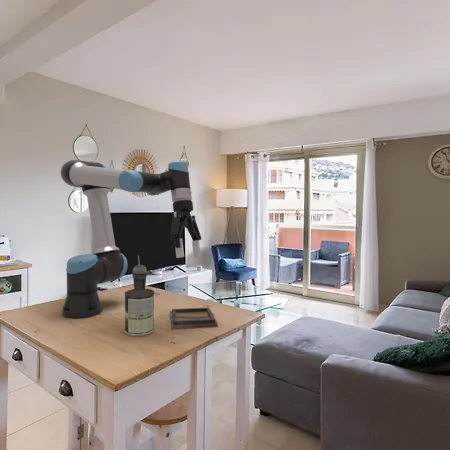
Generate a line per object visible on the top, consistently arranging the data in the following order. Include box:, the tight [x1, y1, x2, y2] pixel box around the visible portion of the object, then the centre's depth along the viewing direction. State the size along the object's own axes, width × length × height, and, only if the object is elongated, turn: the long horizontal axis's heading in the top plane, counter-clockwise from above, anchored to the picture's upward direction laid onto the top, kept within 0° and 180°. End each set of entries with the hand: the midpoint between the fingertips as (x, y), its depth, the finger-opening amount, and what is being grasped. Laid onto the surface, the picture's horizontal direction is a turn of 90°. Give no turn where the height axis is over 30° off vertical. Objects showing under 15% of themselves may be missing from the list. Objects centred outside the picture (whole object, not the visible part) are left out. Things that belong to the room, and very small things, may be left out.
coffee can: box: [124, 288, 155, 337], centre depth 121 cm, size 10×10×14 cm
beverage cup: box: [131, 255, 148, 289], centre depth 165 cm, size 7×7×20 cm
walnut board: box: [169, 307, 219, 330], centre depth 133 cm, size 17×17×2 cm
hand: (189, 257), depth 124 cm, fingers open, 13 cm apart
